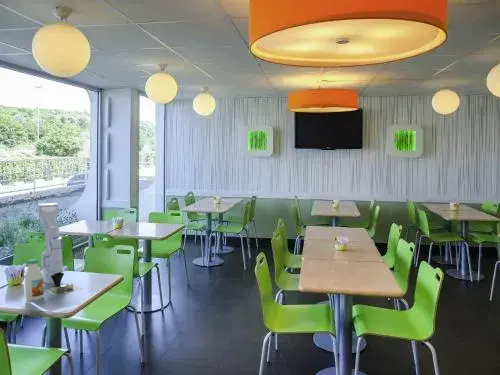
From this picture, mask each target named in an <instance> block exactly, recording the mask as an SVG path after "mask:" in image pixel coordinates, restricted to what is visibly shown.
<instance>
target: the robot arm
mask: <svg viewBox="0 0 500 375" xmlns="http://www.w3.org/2000/svg"><path fill="white" fill-rule="evenodd" d="M37 214H38V219H39V220H40V221H42V223H43V231H44V232H43V233H44V238H45V239H44V243H45V250H44V251H43V252H42V253H41V255H40V266H41V268H42V271H41V273H42V276H43V284H48V285H49V284H51V285H52V284H55V285H56V286H61V282H62V279H63V277H64V274H65V273H64V272H65V271H68V270H69V266H68V265H64V264H63V250H62V249H63V247H64V242H63V238H62V236H61V234H60V228H59V227H58V226H56V225H57V224H56V219H57V218H58V215H59V204H58V203H57V202H54V203H53V202H52V203H38V204H37Z"/></svg>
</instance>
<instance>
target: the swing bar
mask: <svg viewBox="0 0 500 375" xmlns="http://www.w3.org/2000/svg"><path fill="white" fill-rule="evenodd" d="M73 285H74V283H66V284H65V285H61V284H60V286H56V285H55V284H54V283H51V288H50V289H51V290H52V291H56V289H58V288H63V287H64V289H65V290H72V289H73Z"/></svg>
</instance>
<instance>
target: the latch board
mask: <svg viewBox="0 0 500 375" xmlns="http://www.w3.org/2000/svg"><path fill="white" fill-rule="evenodd" d="M79 290H83V288H81V287H80V286H77V285H75V284H73V289H72V290H65V289H64V287H63V288H58V289H56V291H52V290H51V288H46V289H44V291H45V292H47V293H49V294H51V295H53V296H60V295H63V294H67V293H70V292H75V291H79Z"/></svg>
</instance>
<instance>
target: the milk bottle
mask: <svg viewBox="0 0 500 375" xmlns="http://www.w3.org/2000/svg"><path fill="white" fill-rule="evenodd" d="M27 266H28V268H27V270H26V274H25V277H24V282H25V283H24V284H25V285H24V287H25V301H26V302H27V303H33V301H38V300H41V299H43V298H44V297H45V295H44V294H45V292H44V291H45V290H44V283H43V273H42V271H41V269H40V267H39V259H38V258H32V259H31V258H29V259H28V260H27Z"/></svg>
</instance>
